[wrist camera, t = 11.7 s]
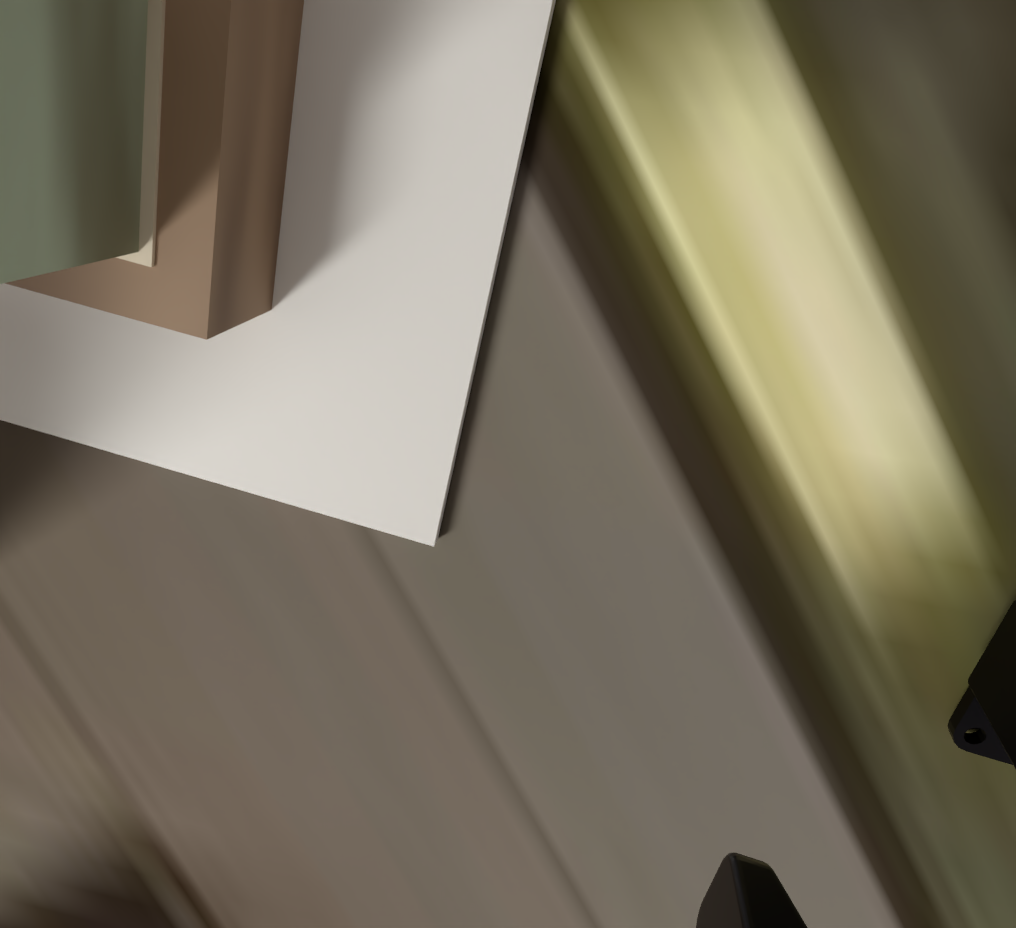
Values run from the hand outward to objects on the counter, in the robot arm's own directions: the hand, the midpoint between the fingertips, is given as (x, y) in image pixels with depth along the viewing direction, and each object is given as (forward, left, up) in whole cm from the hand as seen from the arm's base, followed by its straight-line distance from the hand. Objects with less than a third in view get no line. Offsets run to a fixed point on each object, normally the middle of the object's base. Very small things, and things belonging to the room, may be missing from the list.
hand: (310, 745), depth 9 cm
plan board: (+8, -3, -12) cm, 15 cm away
